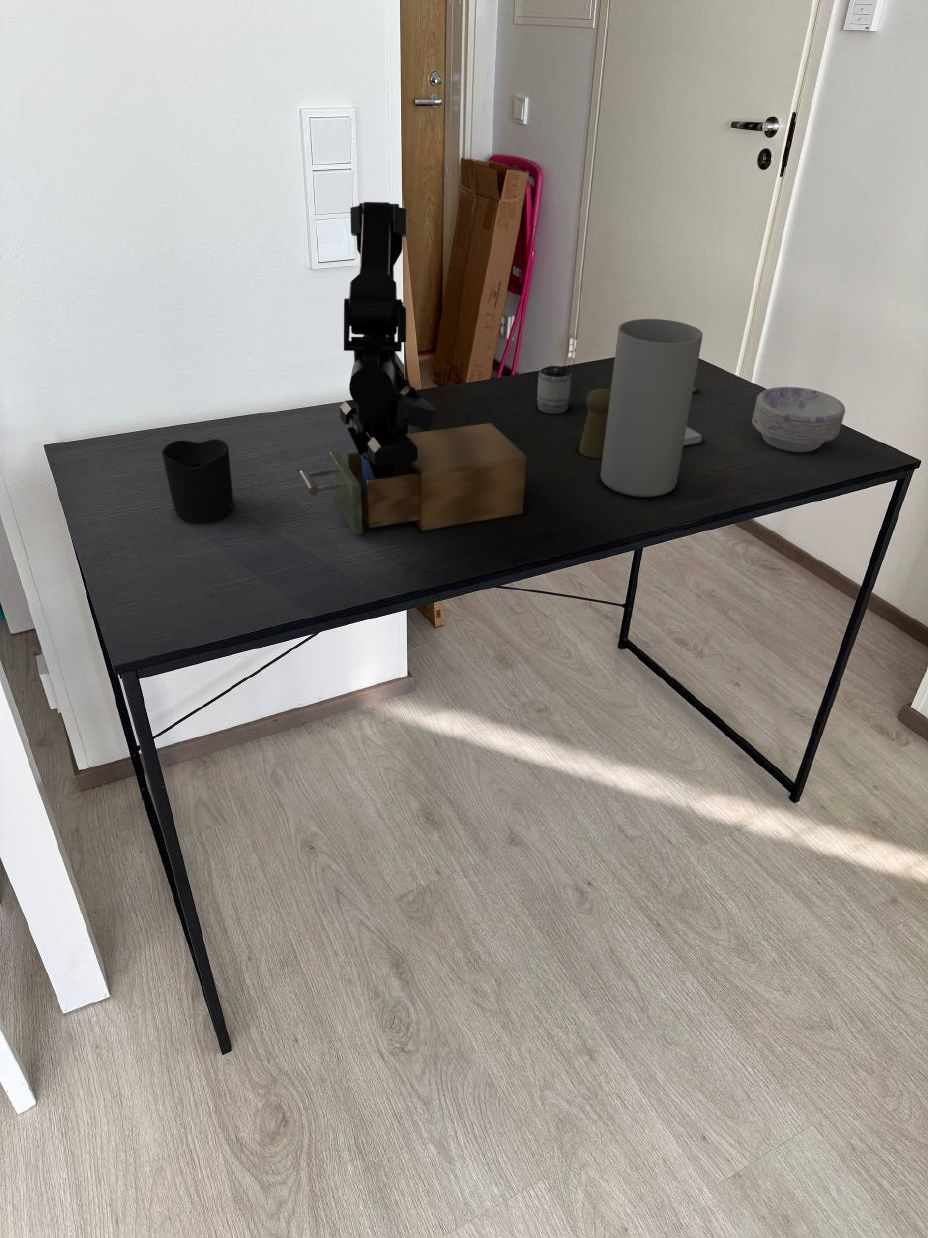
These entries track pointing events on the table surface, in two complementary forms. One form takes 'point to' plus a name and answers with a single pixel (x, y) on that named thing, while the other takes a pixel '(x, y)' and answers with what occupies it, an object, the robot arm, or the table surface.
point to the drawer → (369, 492)
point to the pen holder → (199, 479)
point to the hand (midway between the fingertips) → (378, 484)
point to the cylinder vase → (649, 405)
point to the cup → (366, 473)
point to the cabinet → (467, 475)
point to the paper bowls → (797, 418)
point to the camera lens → (553, 389)
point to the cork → (595, 423)
